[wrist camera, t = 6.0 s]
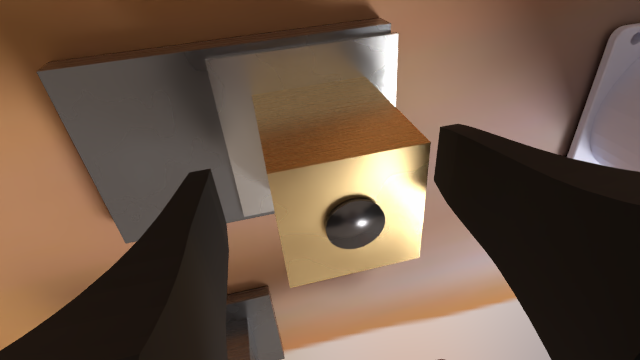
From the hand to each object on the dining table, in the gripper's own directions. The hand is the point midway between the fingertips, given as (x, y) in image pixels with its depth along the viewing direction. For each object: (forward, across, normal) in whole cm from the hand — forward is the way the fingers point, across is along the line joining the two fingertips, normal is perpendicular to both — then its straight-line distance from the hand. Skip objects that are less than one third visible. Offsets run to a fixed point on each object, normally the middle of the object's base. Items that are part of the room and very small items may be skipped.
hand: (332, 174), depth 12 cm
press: (+4, +3, +6) cm, 8 cm away
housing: (+3, 0, 0) cm, 3 cm away
